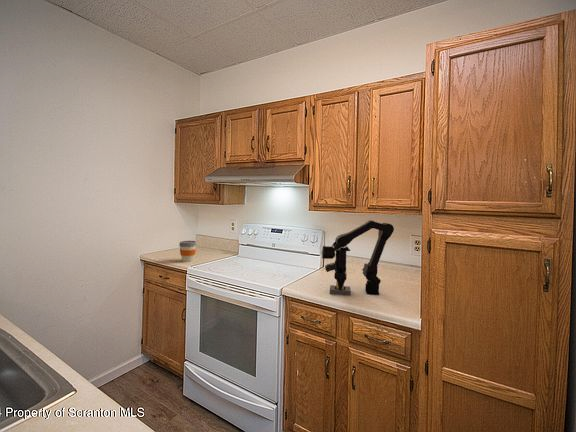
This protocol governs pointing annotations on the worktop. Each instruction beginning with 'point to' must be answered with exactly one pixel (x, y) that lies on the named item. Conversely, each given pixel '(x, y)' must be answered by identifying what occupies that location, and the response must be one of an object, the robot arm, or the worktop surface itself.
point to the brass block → (338, 286)
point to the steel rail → (340, 292)
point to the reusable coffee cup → (187, 250)
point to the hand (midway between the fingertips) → (340, 286)
